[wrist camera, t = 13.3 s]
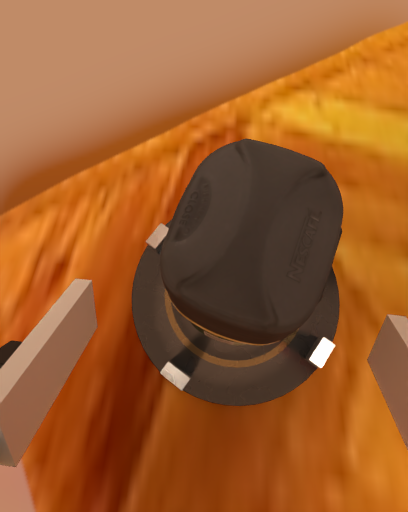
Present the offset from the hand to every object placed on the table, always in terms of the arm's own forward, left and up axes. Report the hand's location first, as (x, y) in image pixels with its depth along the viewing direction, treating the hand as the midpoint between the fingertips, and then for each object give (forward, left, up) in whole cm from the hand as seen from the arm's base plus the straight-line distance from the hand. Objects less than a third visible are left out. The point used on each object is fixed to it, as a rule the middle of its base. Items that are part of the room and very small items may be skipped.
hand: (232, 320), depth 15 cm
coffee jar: (+1, -4, -16) cm, 17 cm away
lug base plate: (+1, -4, -18) cm, 18 cm away
